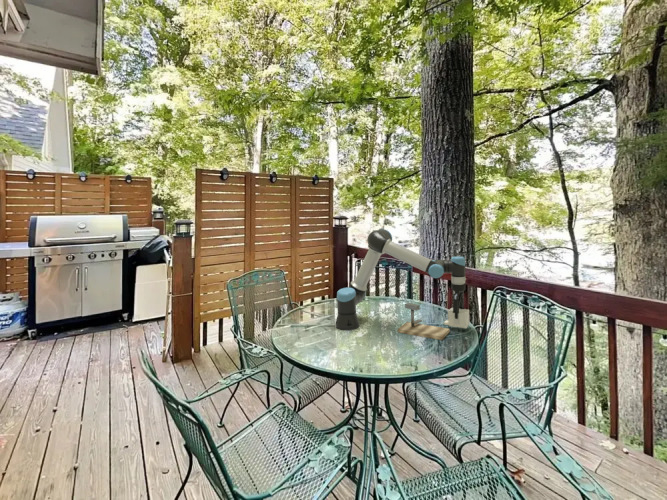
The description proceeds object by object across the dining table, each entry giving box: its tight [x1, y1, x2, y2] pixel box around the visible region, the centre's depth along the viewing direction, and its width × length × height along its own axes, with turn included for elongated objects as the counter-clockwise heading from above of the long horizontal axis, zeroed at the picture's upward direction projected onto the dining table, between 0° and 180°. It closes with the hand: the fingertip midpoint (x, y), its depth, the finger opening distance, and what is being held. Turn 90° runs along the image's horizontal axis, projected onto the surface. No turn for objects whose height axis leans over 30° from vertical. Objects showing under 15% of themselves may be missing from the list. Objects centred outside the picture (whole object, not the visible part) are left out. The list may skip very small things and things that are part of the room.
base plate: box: [397, 321, 451, 341], centre depth 197 cm, size 26×14×2 cm, turn 55°
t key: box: [404, 302, 423, 327], centre depth 201 cm, size 10×8×13 cm
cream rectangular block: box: [443, 307, 470, 329], centre depth 198 cm, size 13×7×9 cm, turn 55°
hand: (458, 321), depth 197 cm, fingers closed on cream rectangular block, 7 cm apart
